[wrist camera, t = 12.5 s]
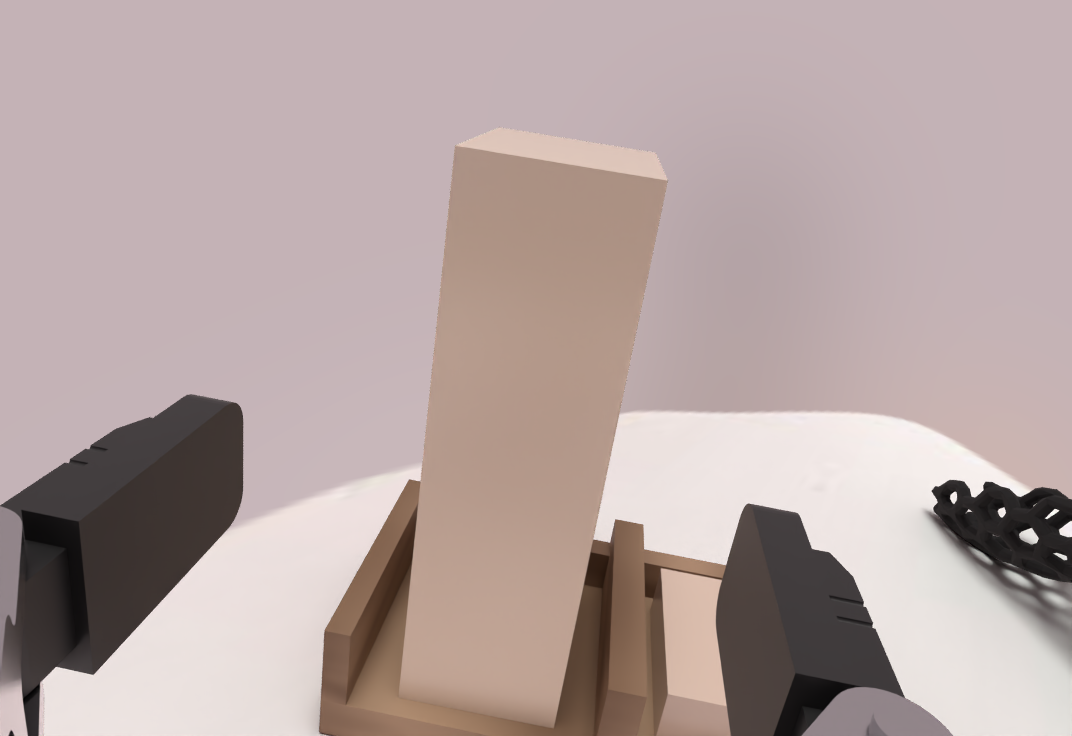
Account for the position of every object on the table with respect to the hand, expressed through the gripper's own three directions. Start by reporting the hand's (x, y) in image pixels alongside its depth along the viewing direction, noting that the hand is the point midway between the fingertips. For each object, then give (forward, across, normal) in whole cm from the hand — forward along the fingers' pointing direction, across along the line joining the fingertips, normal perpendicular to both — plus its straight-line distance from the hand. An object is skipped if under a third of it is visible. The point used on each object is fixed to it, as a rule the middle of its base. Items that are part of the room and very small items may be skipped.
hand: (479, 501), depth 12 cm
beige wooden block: (+9, 0, +10) cm, 13 cm away
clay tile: (+9, -7, +10) cm, 15 cm away
